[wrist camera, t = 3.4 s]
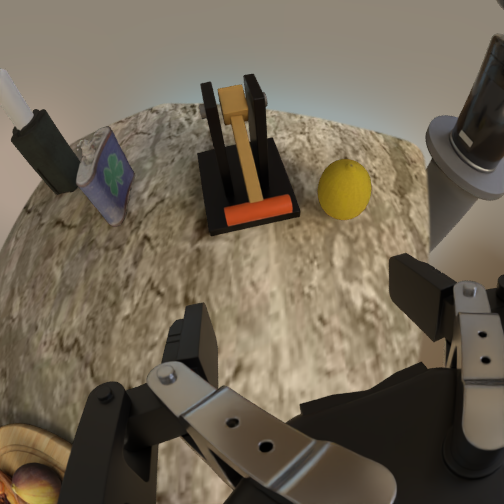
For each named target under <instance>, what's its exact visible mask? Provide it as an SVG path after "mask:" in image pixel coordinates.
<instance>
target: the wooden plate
mask: <svg viewBox="0 0 504 504" xmlns="http://www.w3.org/2000/svg"><path fill="white" fill-rule="evenodd" d="M71 448H72V444H71V443H69V442H67V441H66V440H64V439H63V438H61V437H59V436H57V435H55V434H53V433H51V432H49V431H47V430H44V429H42V428H39V427H36V426H33V425H30V424H22V423H15V424H7V425H5V426H2V427H0V504H57V503H58V498H59V494H60V489H61V485H62V481H63V477H64V473H65V470H66V466H67V462H68V459H69V455H70V452H71Z"/></svg>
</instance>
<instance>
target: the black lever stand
mask: <svg viewBox="0 0 504 504" xmlns="http://www.w3.org/2000/svg"><path fill="white" fill-rule="evenodd" d="M243 77H244V86H245V94H246V101H247V105H248V109H249V111H248V122H249V132H250V141H251V142H249V143H250V147H251V151H252V155H253V159H254V163H255V167H256V171H257V175H258V180H259V184H260V188H261V192H262V196H263V199H266V198H271V197H276V196H281V195H286V194H288V195H289V196H290V198H291V202H292V208H293V210H292V213H287V214H282V215H278V216H273V217H268V218H264V219H259V220H255V221H250V222H246V223H241V224H237V225H232V226H228V225H227V221H226V217H225V212H224V208H225V207H230V206H234V205H239V204H243V203H248V202H249V199H248V194H247V190H246V186H245V181H244V177H243V173H242V168H241V164H240V160H239V155H238V151H237V147H236V145H231V146H227V147H225V144H224V139H223V134H222V129H221V124H220V119H219V114H218V109H217V105H216V101H215V96H214V92H213V88H212V84H211V82H206V83H202V84H201V90H202V96H203V102H204V104H200V105H199V109H200V113H201V117H202V119H205V118H207V120H208V125H209V129H210V133H211V137H212V141H213V146H214V149H213V150H209V151H205V152H200V153H197V155H198V162H199V169H200V176H201V183H202V190H203V196H204V203H205V209H206V215H207V222H208V228H209V232H210V235H211V236H214V235H219V234H223V233H228V232H232V231H236V230H241V229H245V228H250V227H254V226H259V225H263V224H268V223H273V222H277V221H282V220H287V219H291V218H296V217H300V208H299V206H298V203H297V200H296V197H295V195H294V192H293V189H292V186H291V184H290V181H289V178H288V176H287V173H286V170H285V168H284V165H283V163H282V160H281V157H280V155H279V152H278V150H277V147H276V145H275V142H274V140H273V138H267V124H266V106H267V97H266V94H265V93H264V92H262V90H261V88H260V86H259V84H258V82H257V80H256V77H255V76H254V74H248V75H244V76H243Z"/></svg>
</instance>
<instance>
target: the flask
mask: <svg viewBox="0 0 504 504" xmlns="http://www.w3.org/2000/svg"><path fill="white" fill-rule="evenodd" d="M82 141H83V140H81V141H80V142H79V143H78V144H77V147H79V146H80V145H81V142H82ZM81 148H82V151H83V152H82V154H83V156H82V159H81V162H80V165H79V169H78V173H77V178H76V184H77V185H78V187H79V188H80V189H81V190H82V191H83V192H84V194H85V195H86V196H87V197H88V198H89V200H90V201H91V202H92V204H93V205H94V206H95V207H96V208H97V209H98V211H99V212H100V213H101V214H102V216H103V217H104V218H105V219H106V221H107V222H108V223H109V224H110V225H112V226H114V227H115V226H118V225H121V224H122V222H123V220H124V219H125V216H126V213H127V212H126V208H127V204H128V202H129V200H130V199H129V198H130V195H129V191H130V190H131V185H132V183H133V180H134V177H135V173H134V171H133V170H132V168H131V167H130V165H129V163H128V161H127V159H126V157H125V154H124V153H123V151H122V149H121V147H120V145H119V144H118V141H117V139H116V138H115V135H114V133H113V131H112V130H111V128H110V127H109V126H106V127H103V128H100V129H98V130H97V132H96V133H95V134H94V136H93V138H92V139H91V141H90V142H89V141H87V140H86V139H85V140H84V142H83V143H82V145H81ZM78 150H79V149H78V148H77V151H78Z"/></svg>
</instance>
